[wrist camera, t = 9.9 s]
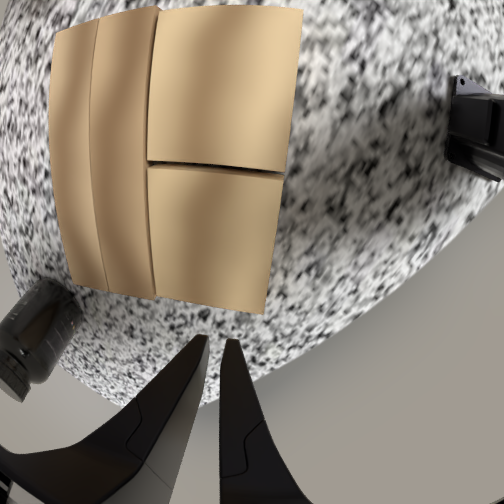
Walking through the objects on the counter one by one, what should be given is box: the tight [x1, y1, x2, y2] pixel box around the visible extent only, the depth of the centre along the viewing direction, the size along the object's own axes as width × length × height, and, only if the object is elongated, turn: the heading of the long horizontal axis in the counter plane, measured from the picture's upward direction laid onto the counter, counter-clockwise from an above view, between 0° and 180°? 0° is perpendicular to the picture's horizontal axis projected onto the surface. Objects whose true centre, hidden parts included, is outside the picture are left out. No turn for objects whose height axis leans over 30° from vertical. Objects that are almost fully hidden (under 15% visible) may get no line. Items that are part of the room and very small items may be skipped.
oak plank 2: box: [147, 163, 284, 315], centre depth 18 cm, size 8×10×2 cm
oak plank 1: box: [147, 5, 303, 172], centre depth 13 cm, size 8×10×2 cm
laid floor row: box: [49, 5, 163, 300], centre depth 16 cm, size 8×20×2 cm, turn 174°
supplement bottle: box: [0, 278, 82, 403], centre depth 18 cm, size 7×7×12 cm
